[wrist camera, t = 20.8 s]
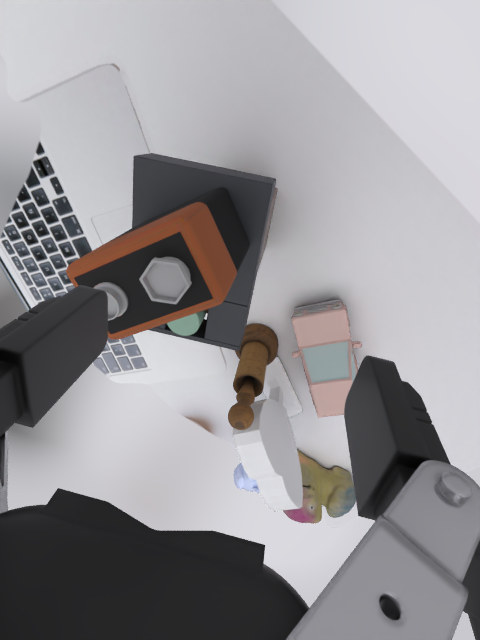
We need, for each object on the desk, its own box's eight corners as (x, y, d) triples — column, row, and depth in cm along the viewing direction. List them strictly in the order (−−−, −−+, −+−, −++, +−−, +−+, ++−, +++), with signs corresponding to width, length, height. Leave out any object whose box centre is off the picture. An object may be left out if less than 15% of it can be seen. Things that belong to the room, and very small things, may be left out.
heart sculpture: (244, 355, 56) (223, 446, 41) (274, 347, 55) (263, 438, 39) (279, 423, 63) (272, 524, 47) (306, 418, 61) (308, 520, 46)
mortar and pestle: (286, 348, 55) (279, 435, 39) (252, 365, 58) (233, 453, 42) (262, 316, 53) (245, 393, 37) (228, 335, 56) (199, 415, 40)
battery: (253, 246, 24) (223, 314, 15) (168, 279, 26) (99, 355, 17) (226, 183, 22) (176, 217, 13) (138, 223, 24) (45, 276, 16)
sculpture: (362, 470, 65) (371, 523, 56) (342, 497, 69) (348, 550, 60) (286, 444, 65) (283, 493, 56) (271, 473, 69) (266, 522, 60)
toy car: (350, 289, 49) (360, 324, 40) (365, 377, 55) (377, 423, 47) (284, 303, 52) (280, 338, 43) (306, 386, 58) (306, 431, 49)
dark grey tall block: (215, 143, 43) (133, 155, 22) (288, 158, 43) (273, 184, 22) (203, 243, 49) (129, 325, 28) (266, 257, 49) (239, 351, 28)
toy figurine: (234, 429, 65) (220, 486, 54) (260, 414, 62) (252, 471, 52) (258, 452, 67) (249, 511, 56) (285, 439, 64) (281, 499, 54)
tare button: (175, 290, 27) (166, 301, 26) (208, 298, 27) (201, 309, 25) (172, 319, 29) (164, 331, 27) (204, 326, 28) (197, 339, 27)
